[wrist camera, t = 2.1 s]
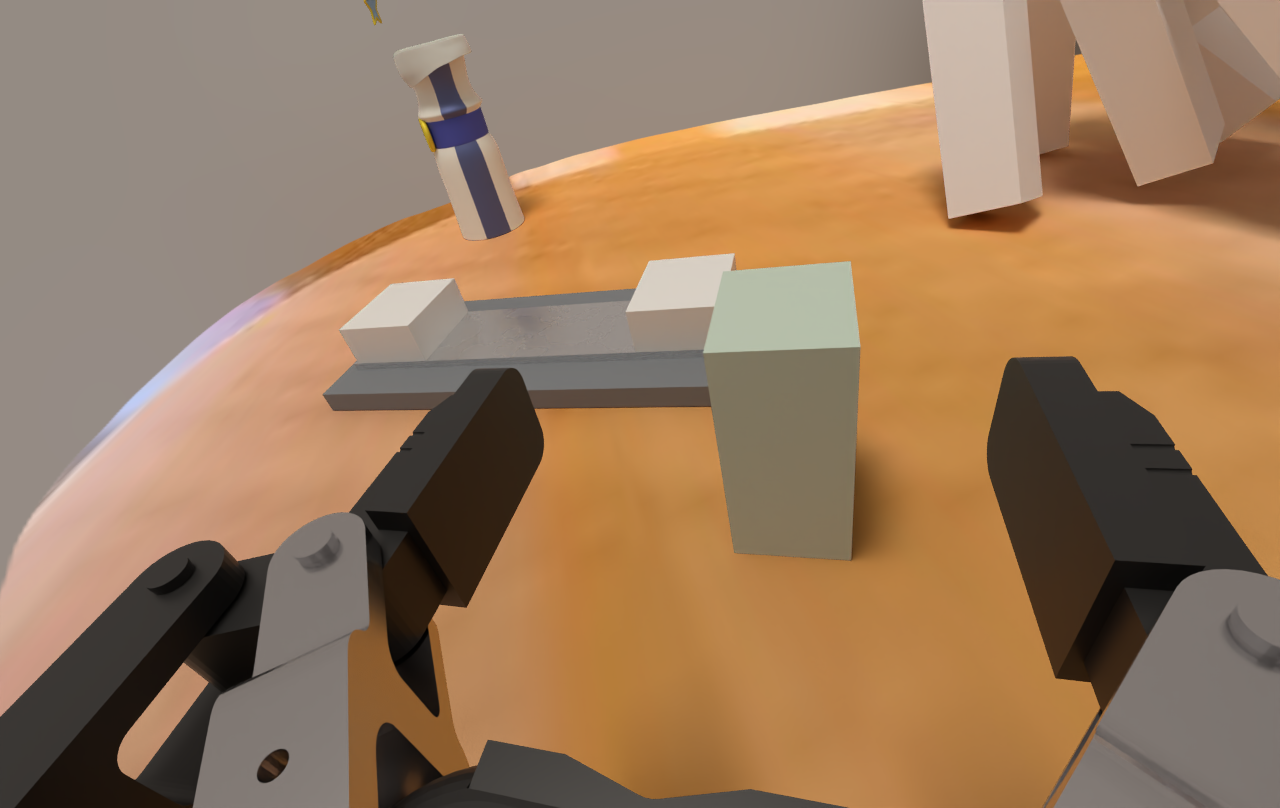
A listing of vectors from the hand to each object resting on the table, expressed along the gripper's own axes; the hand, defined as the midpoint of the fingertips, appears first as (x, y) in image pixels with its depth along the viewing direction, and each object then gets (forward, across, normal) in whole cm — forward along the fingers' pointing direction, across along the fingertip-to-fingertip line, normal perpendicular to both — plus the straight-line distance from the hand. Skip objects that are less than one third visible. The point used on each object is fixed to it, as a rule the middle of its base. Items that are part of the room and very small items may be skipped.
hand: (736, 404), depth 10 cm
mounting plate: (+25, +18, +14) cm, 34 cm away
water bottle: (+54, +36, +15) cm, 66 cm away
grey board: (+26, +18, +15) cm, 35 cm away
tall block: (+12, 0, +15) cm, 19 cm away
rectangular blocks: (+26, +18, +13) cm, 34 cm away
